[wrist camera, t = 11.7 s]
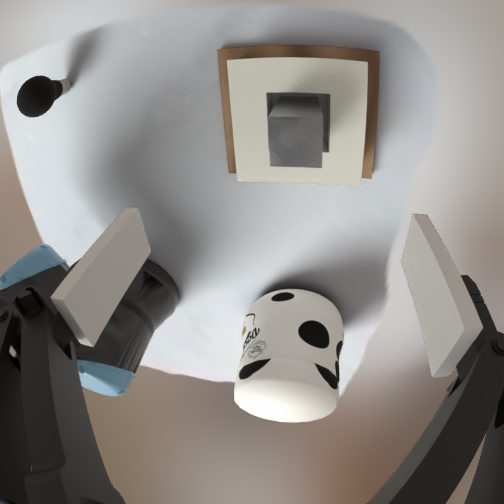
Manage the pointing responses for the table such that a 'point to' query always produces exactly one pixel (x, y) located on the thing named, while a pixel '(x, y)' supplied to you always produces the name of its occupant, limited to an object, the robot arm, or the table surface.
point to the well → (307, 85)
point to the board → (304, 52)
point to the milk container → (290, 357)
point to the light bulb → (40, 95)
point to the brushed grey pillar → (296, 132)
